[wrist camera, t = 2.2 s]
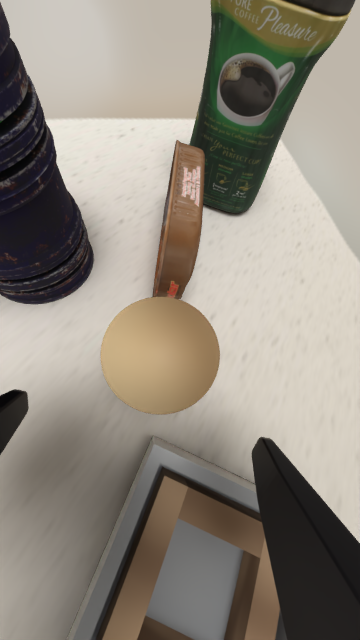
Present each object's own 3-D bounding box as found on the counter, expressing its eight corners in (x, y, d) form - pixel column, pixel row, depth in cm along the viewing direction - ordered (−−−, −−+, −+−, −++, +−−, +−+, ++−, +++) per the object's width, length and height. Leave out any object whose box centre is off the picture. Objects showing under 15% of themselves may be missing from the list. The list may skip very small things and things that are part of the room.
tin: (165, 200, 26) (173, 114, 18) (190, 205, 26) (208, 122, 19) (149, 312, 21) (150, 258, 13) (181, 316, 21) (201, 265, 13)
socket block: (238, 709, 12) (254, 765, 10) (96, 637, 12) (87, 680, 10) (274, 520, 15) (291, 536, 14) (162, 466, 16) (164, 475, 14)
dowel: (137, 412, 17) (117, 435, 6) (125, 365, 18) (89, 312, 7) (183, 395, 18) (237, 388, 7) (168, 351, 19) (195, 286, 8)
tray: (250, 747, 12) (288, 877, 9) (61, 651, 12) (29, 742, 9) (292, 501, 16) (327, 526, 13) (153, 435, 17) (154, 443, 14)
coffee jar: (257, 184, 29) (411, -120, 12) (245, 224, 26) (427, -106, 9) (192, 159, 29) (255, -181, 12) (173, 196, 26) (219, -187, 9)
